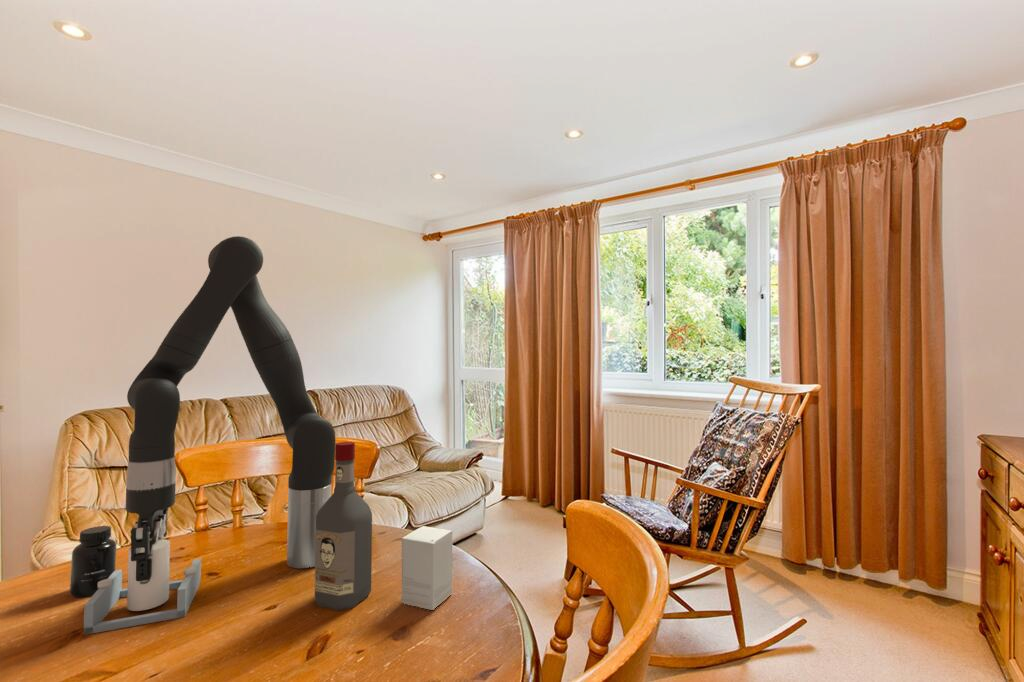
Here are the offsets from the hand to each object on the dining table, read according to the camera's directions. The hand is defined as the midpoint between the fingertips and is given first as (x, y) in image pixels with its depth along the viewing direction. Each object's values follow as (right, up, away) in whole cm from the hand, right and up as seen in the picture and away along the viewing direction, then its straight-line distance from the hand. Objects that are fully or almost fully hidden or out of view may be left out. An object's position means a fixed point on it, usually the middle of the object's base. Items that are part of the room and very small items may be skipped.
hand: (149, 571), depth 90 cm
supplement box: (+52, -7, +3) cm, 53 cm away
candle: (0, -6, 0) cm, 6 cm away
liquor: (+36, -7, +3) cm, 36 cm away
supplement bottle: (-16, -7, +6) cm, 18 cm away
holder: (0, -6, 0) cm, 6 cm away
